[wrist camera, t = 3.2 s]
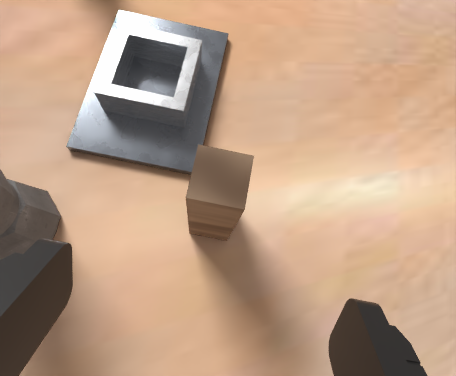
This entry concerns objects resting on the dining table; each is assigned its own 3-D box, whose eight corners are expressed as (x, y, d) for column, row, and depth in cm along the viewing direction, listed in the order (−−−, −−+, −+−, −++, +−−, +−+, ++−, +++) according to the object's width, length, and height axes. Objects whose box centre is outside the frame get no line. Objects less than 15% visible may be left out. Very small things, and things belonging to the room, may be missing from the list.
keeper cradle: (196, 175, 41) (196, 160, 36) (69, 149, 40) (52, 130, 36) (227, 38, 48) (231, 10, 43) (120, 15, 47) (111, -16, 43)
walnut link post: (226, 240, 39) (244, 209, 24) (189, 233, 39) (185, 197, 24) (233, 204, 40) (253, 155, 26) (197, 197, 40) (198, 144, 26)
